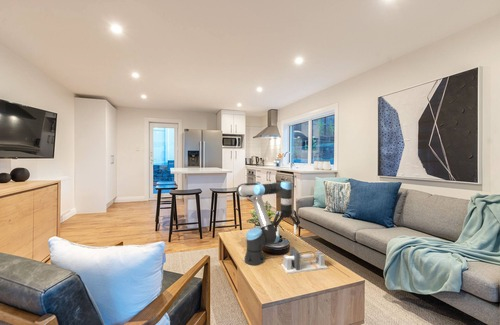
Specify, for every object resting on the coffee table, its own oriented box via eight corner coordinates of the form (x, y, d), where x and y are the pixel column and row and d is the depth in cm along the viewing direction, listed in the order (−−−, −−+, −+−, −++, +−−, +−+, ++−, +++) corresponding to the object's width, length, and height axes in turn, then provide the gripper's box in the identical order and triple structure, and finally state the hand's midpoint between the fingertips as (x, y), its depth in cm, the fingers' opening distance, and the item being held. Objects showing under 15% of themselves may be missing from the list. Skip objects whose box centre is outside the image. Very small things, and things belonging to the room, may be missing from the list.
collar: (296, 269, 158) (296, 253, 157) (290, 262, 168) (290, 247, 168) (299, 269, 158) (299, 253, 158) (293, 261, 169) (293, 246, 168)
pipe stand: (287, 273, 156) (287, 260, 155) (281, 265, 168) (281, 252, 167) (327, 268, 162) (327, 255, 162) (319, 261, 174) (319, 249, 173)
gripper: (270, 206, 154) (271, 237, 155) (305, 204, 159) (305, 234, 160) (267, 203, 161) (267, 234, 162) (300, 201, 167) (300, 231, 168)
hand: (286, 234), depth 161 cm, fingers open, 12 cm apart
